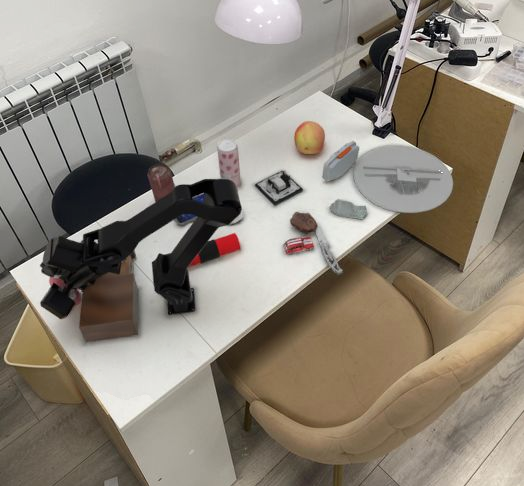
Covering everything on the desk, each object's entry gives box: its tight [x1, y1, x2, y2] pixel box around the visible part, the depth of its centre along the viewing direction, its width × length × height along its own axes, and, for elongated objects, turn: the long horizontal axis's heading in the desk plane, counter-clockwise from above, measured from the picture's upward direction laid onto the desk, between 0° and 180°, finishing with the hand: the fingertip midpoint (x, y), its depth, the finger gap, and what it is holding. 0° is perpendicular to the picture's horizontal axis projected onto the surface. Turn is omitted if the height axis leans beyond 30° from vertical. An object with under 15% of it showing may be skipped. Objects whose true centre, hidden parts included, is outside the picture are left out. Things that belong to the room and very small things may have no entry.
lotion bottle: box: [48, 275, 82, 308], centre depth 128 cm, size 5×5×12 cm
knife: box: [315, 223, 343, 276], centre depth 142 cm, size 2×18×3 cm
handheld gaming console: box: [321, 140, 360, 182], centre depth 160 cm, size 14×3×8 cm, turn 136°
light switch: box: [254, 170, 304, 206], centre depth 157 cm, size 10×4×10 cm
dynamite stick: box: [188, 232, 242, 268], centre depth 140 cm, size 5×5×20 cm
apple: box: [293, 120, 326, 155], centre depth 167 cm, size 10×10×10 cm
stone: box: [289, 211, 318, 235], centre depth 147 cm, size 7×7×3 cm
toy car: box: [282, 236, 315, 256], centre depth 142 cm, size 4×8×3 cm, turn 105°
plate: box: [353, 144, 454, 214], centre depth 160 cm, size 28×28×1 cm
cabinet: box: [78, 273, 140, 343], centre depth 128 cm, size 13×12×7 cm
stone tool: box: [329, 198, 368, 220], centre depth 151 cm, size 10×2×5 cm
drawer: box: [100, 249, 137, 278], centre depth 136 cm, size 13×10×5 cm
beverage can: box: [216, 138, 242, 189], centre depth 155 cm, size 6×6×15 cm
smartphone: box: [174, 193, 206, 227], centre depth 154 cm, size 7×1×15 cm
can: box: [147, 163, 176, 203], centre depth 149 cm, size 6×6×14 cm
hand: (59, 286), depth 129 cm, fingers closed on lotion bottle, 5 cm apart
